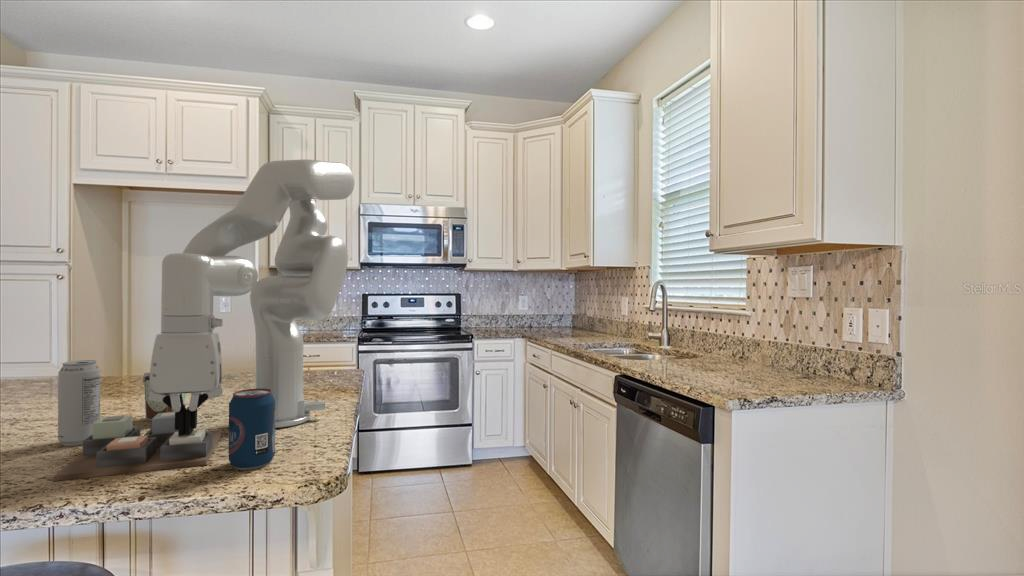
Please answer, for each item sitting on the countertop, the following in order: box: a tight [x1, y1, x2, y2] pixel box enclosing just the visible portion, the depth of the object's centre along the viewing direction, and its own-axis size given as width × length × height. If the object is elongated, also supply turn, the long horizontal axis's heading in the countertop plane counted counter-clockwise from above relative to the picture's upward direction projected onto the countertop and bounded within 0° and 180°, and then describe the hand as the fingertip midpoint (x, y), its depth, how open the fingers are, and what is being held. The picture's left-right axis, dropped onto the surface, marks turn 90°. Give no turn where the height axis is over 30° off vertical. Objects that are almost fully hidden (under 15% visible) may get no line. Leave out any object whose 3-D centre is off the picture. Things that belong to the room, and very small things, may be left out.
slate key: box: [151, 412, 179, 434], centre depth 94 cm, size 4×4×3 cm
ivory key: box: [169, 428, 206, 445], centre depth 88 cm, size 4×4×3 cm
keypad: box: [52, 426, 223, 482], centre depth 89 cm, size 20×18×3 cm
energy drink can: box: [57, 359, 101, 447], centre depth 96 cm, size 6×6×15 cm
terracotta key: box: [106, 435, 148, 451], centre depth 85 cm, size 4×4×3 cm
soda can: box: [228, 388, 276, 471], centre depth 85 cm, size 7×7×12 cm
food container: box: [142, 372, 186, 422], centre depth 112 cm, size 12×6×10 cm, turn 58°
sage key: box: [92, 414, 133, 439], centre depth 90 cm, size 4×4×3 cm
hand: (185, 433), depth 87 cm, fingers closed
